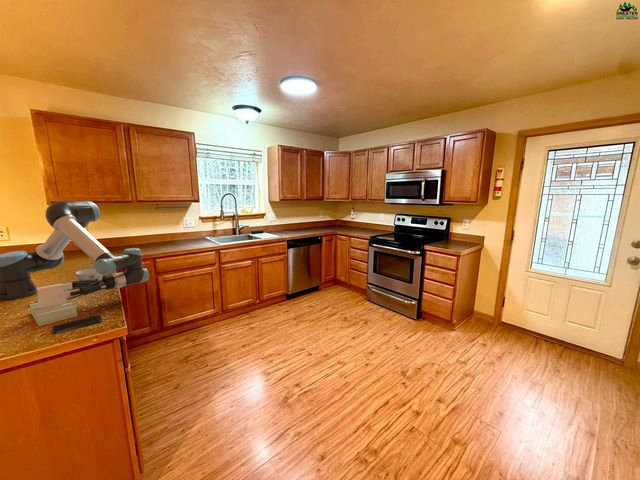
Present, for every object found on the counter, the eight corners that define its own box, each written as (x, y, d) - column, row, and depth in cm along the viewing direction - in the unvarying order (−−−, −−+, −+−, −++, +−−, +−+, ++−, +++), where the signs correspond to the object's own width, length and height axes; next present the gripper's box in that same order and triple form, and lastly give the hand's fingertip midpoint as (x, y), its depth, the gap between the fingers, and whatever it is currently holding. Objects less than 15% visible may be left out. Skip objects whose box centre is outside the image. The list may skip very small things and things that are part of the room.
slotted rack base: (31, 313, 119) (29, 304, 118) (67, 305, 129) (65, 296, 128) (38, 326, 107) (37, 316, 107) (77, 315, 117) (76, 306, 116)
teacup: (75, 287, 153) (73, 274, 152) (79, 282, 163) (77, 269, 162) (107, 283, 162) (106, 270, 160) (109, 278, 172) (108, 266, 170)
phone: (102, 320, 112) (52, 333, 101) (102, 322, 112) (53, 335, 101) (99, 314, 117) (51, 326, 106) (99, 317, 117) (52, 328, 106)
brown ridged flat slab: (86, 290, 150) (86, 288, 150) (93, 294, 144) (93, 292, 144) (19, 305, 128) (19, 303, 128) (24, 310, 123) (23, 308, 122)
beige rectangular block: (40, 313, 116) (36, 287, 114) (64, 307, 122) (61, 283, 120) (41, 315, 114) (37, 289, 112) (66, 309, 120) (63, 284, 118)
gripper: (122, 293, 128) (63, 307, 111) (106, 283, 142) (52, 294, 125) (121, 278, 126) (60, 290, 110) (105, 269, 141) (49, 279, 124)
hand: (56, 292), depth 117 cm, fingers open, 13 cm apart
